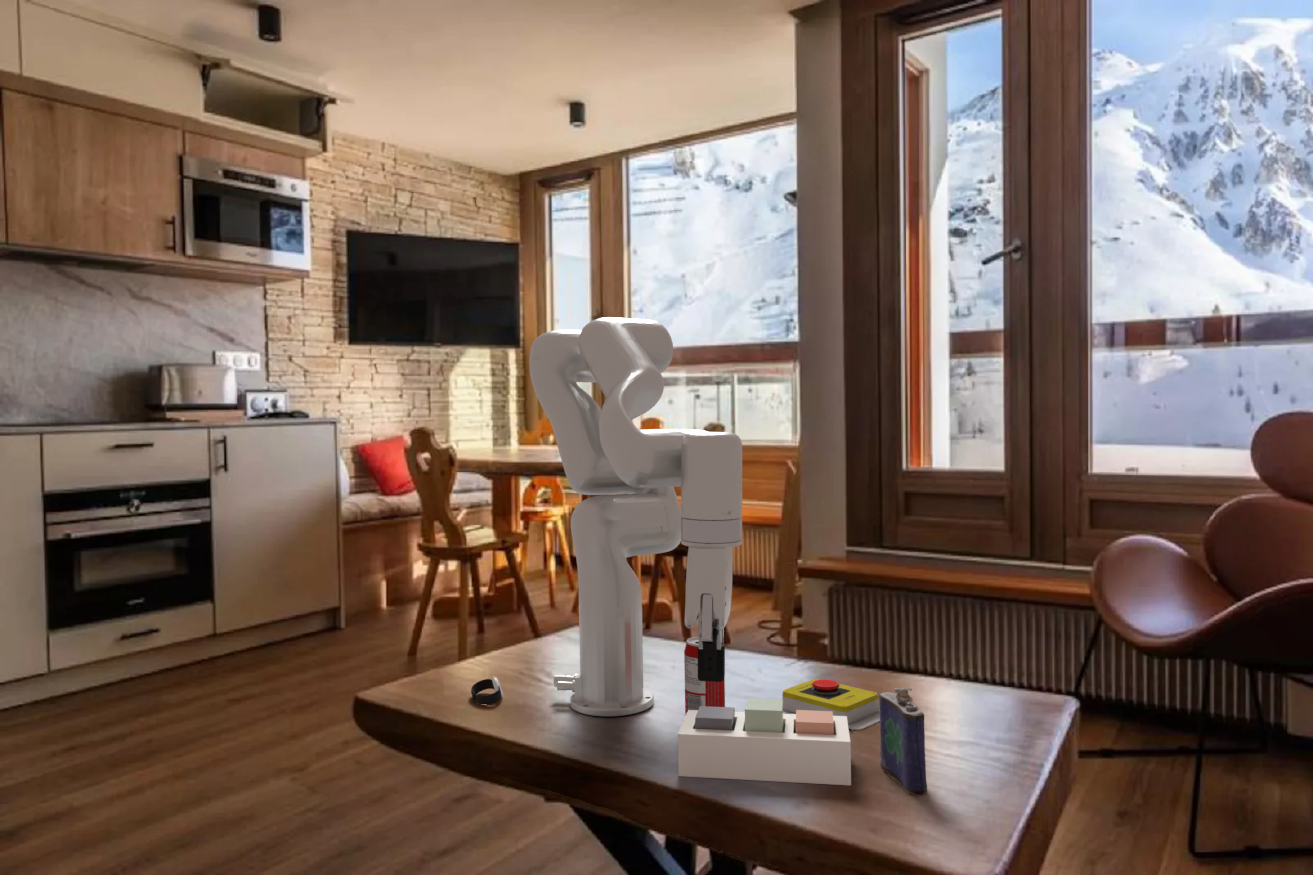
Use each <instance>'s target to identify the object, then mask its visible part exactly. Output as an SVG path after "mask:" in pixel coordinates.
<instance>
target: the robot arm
mask: <svg viewBox="0 0 1313 875" xmlns="http://www.w3.org/2000/svg"><path fill="white" fill-rule="evenodd" d="M673 357H674V345H673V339H672V337H671V335H670V332H669V331H668V329H667V328H666V327H665V326H664V325H663V324H661V323H660V322H659V321H656V320H651V319H645V318H632V317H631V318H630V317H629V318H628V317H617V316H616V317H612V316H607V317H605V316H604V317H599V318H596V319H593V320H591V321H589V322H587V323H586V324H585V325H584V327H582V329H556V330H550V331H547V332H546V331H545V332H543V333H541V334H540V335H538V336H537V337H536V338H535V339H534V341H533V342H532V345H531V348H530V351H529V357H528V358H529V362H528V363H529V364H528V365H529V366H528V367H529V374H530V381H531V384H532V387H533V391H534V393H535V396H536V398H537V400H538V402H539V404H540V406H541V408H542V409H543V411H544V413H545V415H546V416H547V418H548V420H549V422H550V425H551V427H552V432H553V434H554V438H555V442H556V446H557V448H558V452H559V456H560V460H561V464H562V467H563V469H564V470H563V471H564V473H565V476H566V479H567V483H568V484H569V486H570V488H571V489H572V490H573V491H574V492H575V493H577V494H580V495H585V496H586V495H587V496H591V497H588V498H586V499H583V500H582V501H581V502H579V503H578V504H577V505H576V506H575V508H574V509H573V512H572V514H571V517H570V529H571V536H572V537H571V538H572V543H573V547H574V552H575V553H574V554H575V559H576V567H577V579H578V618H579V619H578V620H579V621H578V622H579V626H578V627H579V628H578V629H579V630H578V631H579V668H580V669H579V672H576V673H574V675H571V674H570V675H569V674H564V673H563V674H562V673H561V674H559V673H557V674H554V676H553V687H555V688H556V690H557V691H565V692H566V691H571V692H572V693H573V694H571V696H570V698H569V703H570V707H571V708H572V709H573V710H574V711H576V712H578V713H580V714H583V715H587V716H593V717H594V716H595V717H622V716H624V717H625V716H629V715H633V714H638V713H642V712H644V711H646V710H648V709H649V708H651V707H653V705H654V701H655V699H654V693H653V692H652V691H651V690H650V689H647V688H644V657H643V656H644V654H643V652H644V651H643V650H644V648H643V646H644V645H643V643H644V642H643V639H644V638H643V604H642V603H643V599H642V598H643V596H642V595H643V594H642V586H641V583H640V580H639V577H638V576H637V575H636V572H635V571H634V570H633V569H632V567H631V566H630V564H629V563H628V560H627V558H631V557H637V556H645V555H646V556H647V555H655V554H656V555H657V554H663V553H667V552H670V551H671V552H672V551H673V550H675V549H676V548H678V546H679V545H680V544H681V545H683V546H685V547H688V549H687V557H686V558H687V559H686V573H685V576H686V577H685V603H684V626H685V627H686V628H687V629H691V628H692V627H693V626H694V625H695V624H696V622H697V621H698V622H697V625H698V626H697V627H698V629H697V630H698V637H699V647H698V680H700V681H712V682H722V681H723V680H724V677H725V675H726V672H725V670H726V663H725V661H726V656H725V655H726V646H724V641H725V640H724V638H725V637H724V636H725V634H724V632H725V630H724V629H725V627H726V625H727V623H728V622H729V619H730V614H731V606H732V596H733V559H734V558H733V554H734V552H733V550H734V549H733V548H735V547H739V546H742V545H743V443H742V440H741V438H740V436H739V435H738V434H735V433H733V432H731V431H730V432H729V431H709V430H704V429H696V428H695V429H694V428H680V429H679V428H651V429H650V428H647V429H644V428H643V429H639V428H638V427H637V426H636V425H635V423H634V422H633V421H632V420H635V419H637V418H638V417H640V416H642V415H644V414H645V413H647V412H649V411H650V410H652V409H653V408H654V407H655V406H656V405H657V403H658V402H659V401H660V400H661V398H662V395H663V393H664V390H665V381H664V380H665V379H664V377H663V375H662V373H663V372H665V371H666V370H667V369H668V367H670V365H671V363H672V360H673ZM578 383H597V385H598V387H599V388H600V391H601V392H602V393H603V395H604V397H605V400H604V402H603V405H602V407H600V406H599V404H598V403H597V402H596V400H594V398H592V396H591V395H590V394H589V393H588V392H586V391H585V390H584V389H583V388H581V387H580V386H579V385H578ZM676 487H678V488H679V487H680V502H679V499H678V496H677V493H676V490H675V488H676Z"/></svg>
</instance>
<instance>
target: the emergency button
mask: <svg viewBox="0 0 1313 875" xmlns="http://www.w3.org/2000/svg"><path fill="white" fill-rule="evenodd" d="M782 699H783V712H787V713H790V714H796V710H812V711H832V712H833V716H847V721H848V728H849V730H853V731H861V730H864V729H867V728H869V727H871V726H873V725H875V724H879V723H880V704H879V695H878V692H876V691H872V690H868V689H867V690H866V689H862V688H860V687H859V688H858V687H853V686H850V685H845V684H842V683H841V684H840V683H839V682H838V681H836V680H832V679H819V678H816V679H811V680H808V681H805V682H802V683H800V684H796V685H794V686H791V687H789V688H785V689H783V690H782Z"/></svg>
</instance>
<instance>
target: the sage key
mask: <svg viewBox="0 0 1313 875" xmlns="http://www.w3.org/2000/svg"><path fill="white" fill-rule="evenodd" d="M744 712H745V731H753V732H776V733H783V714H784V710H783V699H779V698H777V699H776V698H775V699H774V698H753V697H751V698H750V697H747V699H746V703H745V707H744Z"/></svg>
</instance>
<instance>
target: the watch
mask: <svg viewBox="0 0 1313 875" xmlns="http://www.w3.org/2000/svg"><path fill="white" fill-rule="evenodd" d="M501 685H502V684H500V680H499V679H498V677H496V676H492V679H491V678H485V679H482V680H479V681H477V682H475V683H474V684H473V685H472V686H471V688H470V689H471V690H470V694H471V696H472V700H473V699H474V700H473V702H474V701H475V700H476V701H477V702H478V703H479V704H478V703H477V702H476V703H477V704H478V705H480V704H487V705H486V706H490V705H495V704H497V703H499V702H500V701H501V700H502V698H503V697H504V693H503V689H502V686H501ZM490 689H492V690H494V691H495V692H492V693H491V694H490V693H489V694H486V695H479V693H480V692H483V691H486V690H490Z"/></svg>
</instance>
